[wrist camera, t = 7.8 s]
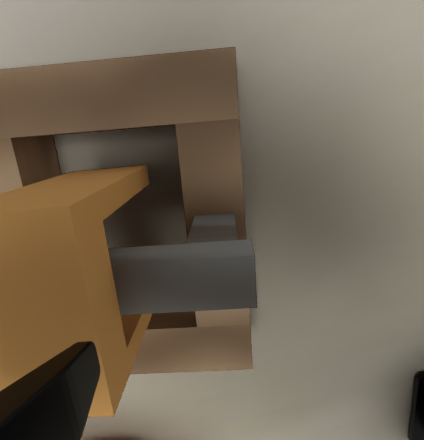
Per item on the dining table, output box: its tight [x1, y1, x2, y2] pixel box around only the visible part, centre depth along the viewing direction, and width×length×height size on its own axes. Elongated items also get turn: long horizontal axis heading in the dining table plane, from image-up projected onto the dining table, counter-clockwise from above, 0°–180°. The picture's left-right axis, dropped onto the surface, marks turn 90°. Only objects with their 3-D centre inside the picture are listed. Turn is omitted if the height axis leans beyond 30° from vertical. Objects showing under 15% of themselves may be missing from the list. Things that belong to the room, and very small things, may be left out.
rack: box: [0, 47, 257, 374], centre depth 16 cm, size 17×14×10 cm
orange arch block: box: [0, 165, 152, 417], centre depth 14 cm, size 7×4×9 cm, turn 5°
